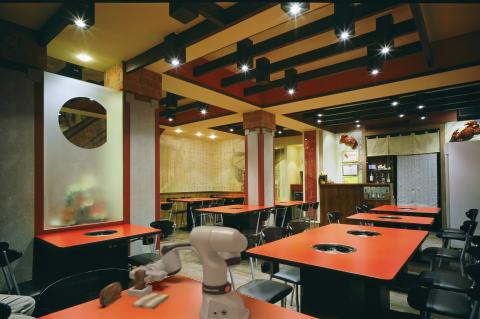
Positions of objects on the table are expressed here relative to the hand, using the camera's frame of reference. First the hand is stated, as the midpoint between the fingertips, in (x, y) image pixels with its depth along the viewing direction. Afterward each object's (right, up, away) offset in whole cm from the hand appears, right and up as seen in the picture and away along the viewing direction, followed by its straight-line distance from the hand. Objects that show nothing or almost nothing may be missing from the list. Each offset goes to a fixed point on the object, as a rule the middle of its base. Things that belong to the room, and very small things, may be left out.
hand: (139, 279), depth 153 cm
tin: (-11, -7, -10) cm, 17 cm away
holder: (0, -8, 0) cm, 8 cm away
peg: (0, -8, 0) cm, 8 cm away
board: (+10, -7, -11) cm, 16 cm away
